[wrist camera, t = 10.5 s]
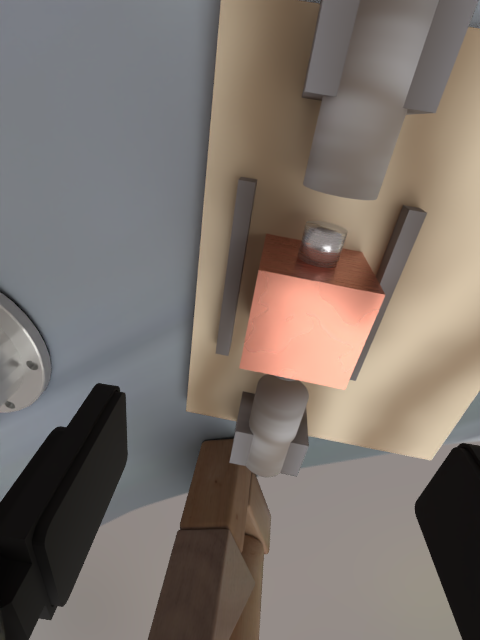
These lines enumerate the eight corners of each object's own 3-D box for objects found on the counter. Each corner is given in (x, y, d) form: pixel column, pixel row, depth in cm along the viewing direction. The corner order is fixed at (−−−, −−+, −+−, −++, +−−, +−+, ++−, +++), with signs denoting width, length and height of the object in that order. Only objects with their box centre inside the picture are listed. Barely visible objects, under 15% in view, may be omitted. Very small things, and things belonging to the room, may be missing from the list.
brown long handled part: (242, 435, 27) (181, 844, 12) (272, 513, 32) (255, 873, 17) (200, 439, 28) (92, 824, 13) (235, 514, 33) (187, 857, 18)
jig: (190, 399, 26) (169, 457, 21) (226, -3, 14) (197, -60, 10) (425, 446, 25) (454, 516, 21) (673, 68, 13) (866, 42, 9)
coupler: (245, 336, 21) (234, 391, 17) (272, 204, 17) (266, 232, 12) (325, 352, 21) (335, 412, 16) (372, 223, 17) (400, 258, 12)
